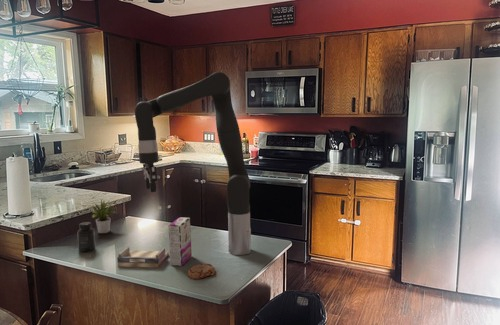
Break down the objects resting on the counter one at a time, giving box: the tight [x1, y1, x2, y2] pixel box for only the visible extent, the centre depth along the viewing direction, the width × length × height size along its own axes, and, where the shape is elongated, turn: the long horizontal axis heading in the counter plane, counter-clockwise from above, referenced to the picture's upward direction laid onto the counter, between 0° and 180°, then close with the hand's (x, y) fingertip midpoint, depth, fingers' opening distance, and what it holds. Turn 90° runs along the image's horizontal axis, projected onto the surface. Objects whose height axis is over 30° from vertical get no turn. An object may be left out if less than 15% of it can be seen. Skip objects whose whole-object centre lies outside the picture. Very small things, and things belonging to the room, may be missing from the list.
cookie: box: [187, 263, 216, 280], centre depth 140 cm, size 10×11×3 cm
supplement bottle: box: [77, 221, 96, 253], centre depth 164 cm, size 7×7×12 cm
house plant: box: [88, 199, 117, 234], centre depth 188 cm, size 14×14×16 cm
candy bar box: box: [168, 216, 193, 267], centre depth 151 cm, size 11×5×16 cm, turn 168°
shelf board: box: [116, 246, 169, 268], centre depth 152 cm, size 16×13×4 cm
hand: (151, 190), depth 157 cm, fingers open, 8 cm apart
